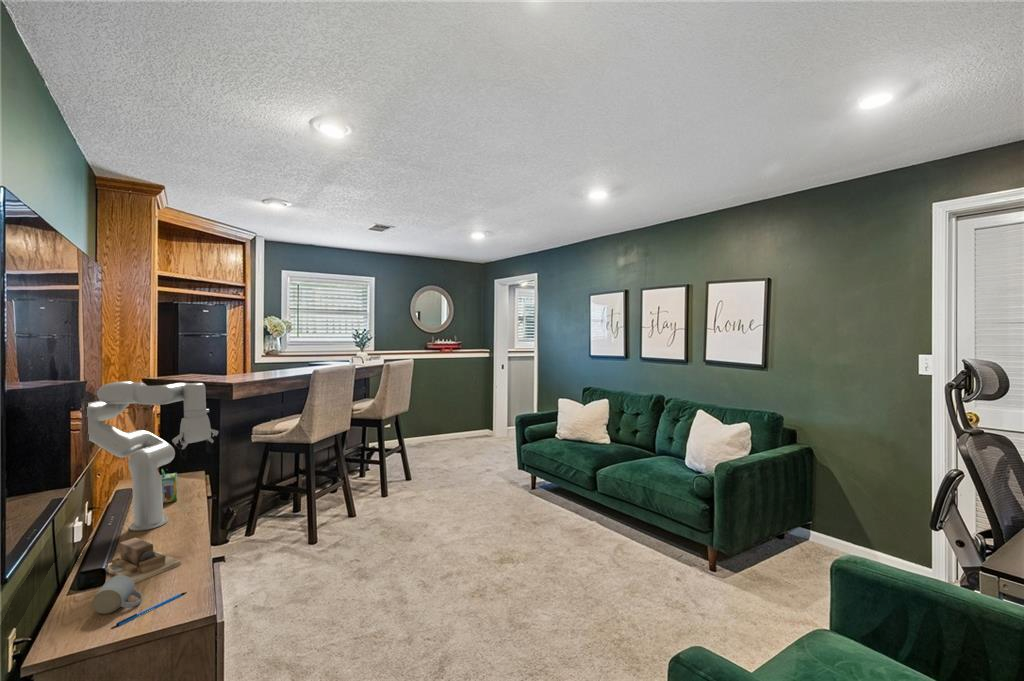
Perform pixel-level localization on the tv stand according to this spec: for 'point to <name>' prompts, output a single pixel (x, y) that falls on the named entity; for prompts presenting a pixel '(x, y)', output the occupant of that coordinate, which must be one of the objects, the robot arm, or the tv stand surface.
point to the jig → (142, 567)
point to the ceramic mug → (115, 595)
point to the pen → (147, 610)
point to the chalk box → (169, 487)
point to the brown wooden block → (136, 551)
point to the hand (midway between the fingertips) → (196, 455)
